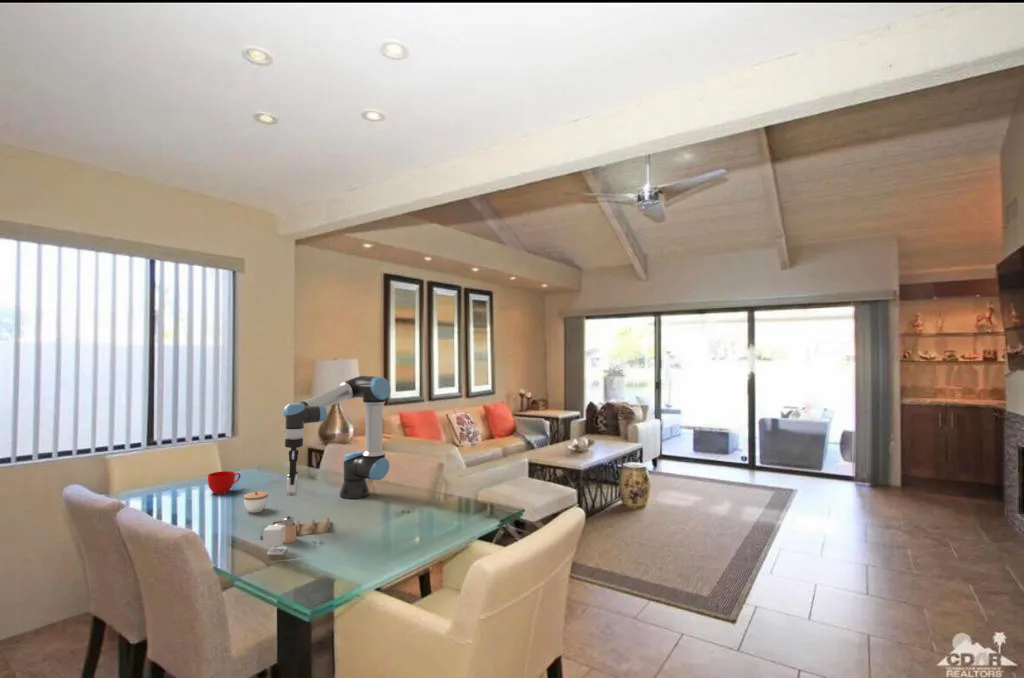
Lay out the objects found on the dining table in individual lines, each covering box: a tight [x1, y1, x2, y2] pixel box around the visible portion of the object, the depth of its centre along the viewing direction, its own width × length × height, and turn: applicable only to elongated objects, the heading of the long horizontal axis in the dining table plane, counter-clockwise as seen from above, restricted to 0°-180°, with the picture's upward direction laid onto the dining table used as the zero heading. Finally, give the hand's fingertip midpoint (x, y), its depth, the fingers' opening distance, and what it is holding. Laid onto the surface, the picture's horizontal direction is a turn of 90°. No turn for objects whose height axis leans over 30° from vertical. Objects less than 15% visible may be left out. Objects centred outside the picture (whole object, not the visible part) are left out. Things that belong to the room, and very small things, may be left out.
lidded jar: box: [243, 490, 269, 514], centre depth 252 cm, size 11×11×9 cm
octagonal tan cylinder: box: [280, 521, 297, 544], centre depth 213 cm, size 6×6×7 cm
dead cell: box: [282, 515, 294, 527], centre depth 213 cm, size 4×4×10 cm
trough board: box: [296, 517, 331, 537], centre depth 227 cm, size 13×14×2 cm
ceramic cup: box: [207, 470, 241, 495], centre depth 284 cm, size 13×17×10 cm
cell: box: [286, 474, 298, 497], centre depth 233 cm, size 4×4×10 cm
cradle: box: [259, 519, 283, 540], centre depth 223 cm, size 13×15×3 cm
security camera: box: [262, 524, 288, 556], centre depth 200 cm, size 6×7×10 cm
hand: (292, 490), depth 233 cm, fingers closed on cell, 4 cm apart
